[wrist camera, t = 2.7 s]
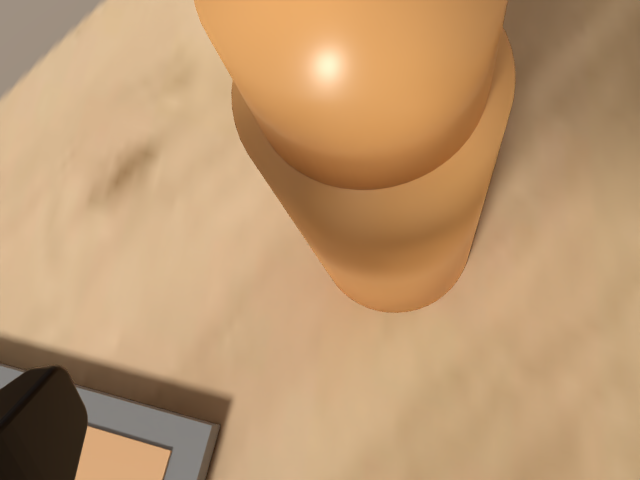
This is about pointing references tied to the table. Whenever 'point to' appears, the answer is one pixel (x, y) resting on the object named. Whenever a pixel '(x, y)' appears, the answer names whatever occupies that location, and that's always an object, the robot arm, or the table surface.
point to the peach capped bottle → (372, 129)
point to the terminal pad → (137, 439)
